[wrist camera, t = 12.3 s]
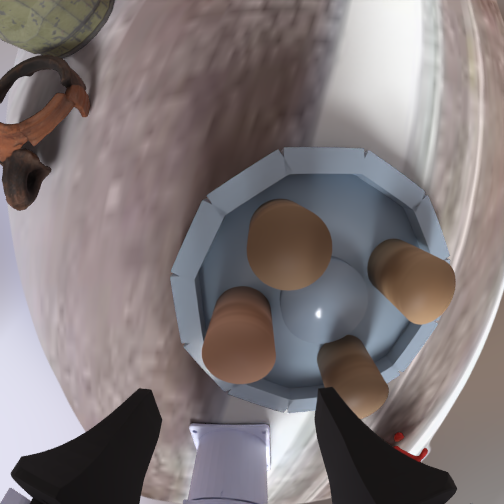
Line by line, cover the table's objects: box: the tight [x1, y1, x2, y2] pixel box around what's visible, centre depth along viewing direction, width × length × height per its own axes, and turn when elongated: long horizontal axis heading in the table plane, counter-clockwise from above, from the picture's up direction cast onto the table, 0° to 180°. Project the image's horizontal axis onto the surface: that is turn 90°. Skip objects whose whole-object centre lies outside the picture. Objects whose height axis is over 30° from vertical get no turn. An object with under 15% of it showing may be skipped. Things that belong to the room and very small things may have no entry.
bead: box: [367, 239, 456, 325], centre depth 16 cm, size 4×4×6 cm
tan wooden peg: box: [247, 199, 332, 291], centre depth 16 cm, size 4×4×6 cm
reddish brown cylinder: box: [202, 286, 276, 384], centre depth 17 cm, size 4×4×6 cm
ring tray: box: [170, 147, 450, 413], centre depth 19 cm, size 20×20×2 cm
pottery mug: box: [0, 55, 90, 211], centre depth 15 cm, size 12×10×8 cm
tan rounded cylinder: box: [317, 335, 389, 419], centre depth 18 cm, size 4×4×6 cm
